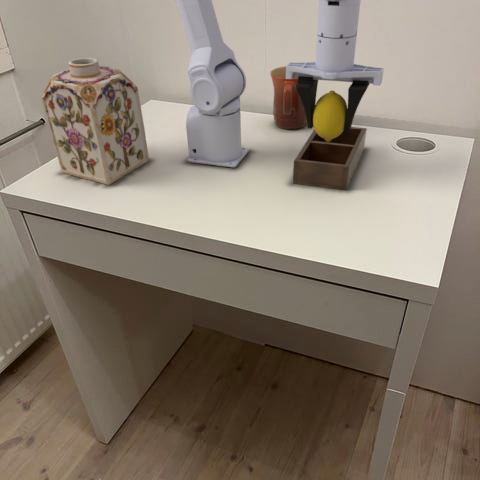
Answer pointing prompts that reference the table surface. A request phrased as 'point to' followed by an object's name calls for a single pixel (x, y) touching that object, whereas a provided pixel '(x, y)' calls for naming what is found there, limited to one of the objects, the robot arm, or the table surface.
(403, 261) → the table surface
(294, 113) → the mug
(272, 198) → the table surface
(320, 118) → the lemon
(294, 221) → the table surface
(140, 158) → the decorative jar
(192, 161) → the robot arm
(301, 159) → the caddy
